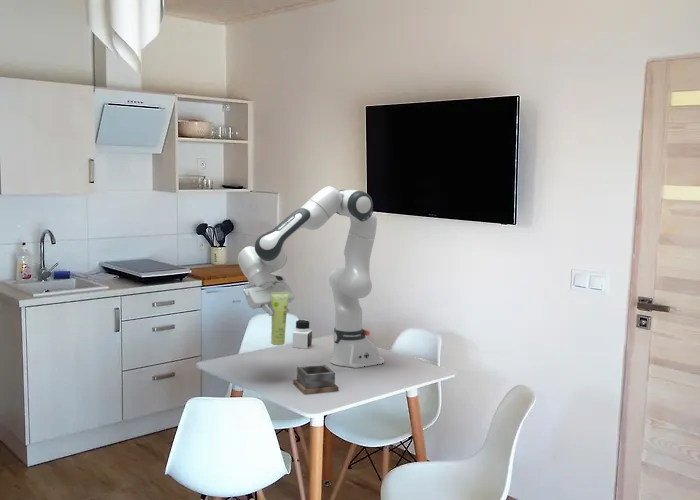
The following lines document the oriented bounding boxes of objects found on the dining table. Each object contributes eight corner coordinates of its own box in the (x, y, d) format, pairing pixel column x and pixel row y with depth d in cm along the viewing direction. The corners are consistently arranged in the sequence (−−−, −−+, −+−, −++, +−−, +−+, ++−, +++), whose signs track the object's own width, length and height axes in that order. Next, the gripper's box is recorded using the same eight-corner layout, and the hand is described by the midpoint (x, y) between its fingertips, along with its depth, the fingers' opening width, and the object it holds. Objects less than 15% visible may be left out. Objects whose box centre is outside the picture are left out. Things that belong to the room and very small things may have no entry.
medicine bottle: (307, 349, 304) (308, 322, 303) (292, 347, 305) (292, 321, 304) (311, 345, 311) (312, 319, 310) (296, 344, 312) (297, 318, 311)
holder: (325, 380, 258) (326, 363, 257) (338, 390, 246) (338, 373, 245) (293, 383, 253) (293, 366, 252) (304, 394, 241) (304, 376, 240)
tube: (280, 346, 250) (283, 293, 249) (268, 344, 252) (270, 292, 251) (286, 343, 256) (289, 292, 255) (274, 342, 257) (276, 290, 256)
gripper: (245, 282, 249) (262, 312, 244) (286, 276, 264) (303, 304, 259) (237, 292, 253) (254, 322, 247) (279, 286, 268) (295, 314, 262)
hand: (280, 313), depth 253 cm, fingers closed on tube, 6 cm apart
